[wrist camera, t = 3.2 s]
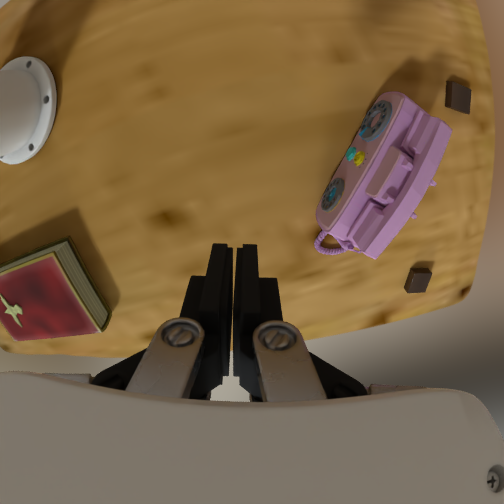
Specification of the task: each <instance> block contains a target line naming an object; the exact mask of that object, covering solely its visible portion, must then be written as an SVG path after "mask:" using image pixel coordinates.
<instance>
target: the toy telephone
mask: <svg viewBox="0 0 504 504" xmlns="http://www.w3.org/2000/svg"><path fill="white" fill-rule="evenodd" d="M451 133H452V129H451V128H450V127H449V126H448V125H447V124H446V123H445V122H444V121H442V120H441V119H439V118H436V117H431V116H430V115H429V114H428V113H427V112H425V111H424V110H423V109H422V108H421V107H419V106H418V105H417V104H416V103H415V102H413V101H412V100H411V99H410V98H408V97H407V96H406V95H405V94H403V93H401V92H396V91H393V92H386V93H383V94H382V95H380V96H379V97H378V99H377V100H376V102H375V103H374V105H373V106H372V108H371V109H370V110H369V111H368V113H367V114H366V116H365V118H364V120H363V122H362V125H361V128H360V130H359V131H358V133H357V135H356V137H355V139H354V141H353V142H352V144H351V146H350V148H349V149H348V151H347V153H346V155H345V157H344V158H343V160H342V162H341V164H340V165H339V167H338V169H337V171H336V173H335V174H334V176H333V178H332V180H331V182H330V184H329V185H328V187H327V189H326V191H325V192H324V195H323V196H322V198H321V200H320V202H319V204H318V207H317V209H316V218H317V221H318V224H319V226H320V227H321V229H322V232H320V234H319V235H318V237H317V238H316V241H315V245H314V246H315V248H316V250H317V251H318V252H320V253H323V254H327V255H328V254H329V255H331V254H332V255H334V254H340V253H343V252H346V251H347V250H348V249H349V250H351V251H354V252H358V253H361V252H363V253H364V254H365V255H367V256H369V257H371V258H374V259H377V257H378V256H379V255H380V254H381V253H382V252H383V250H384V249H385V248H386V247H387V246H388V244H389V243H390V242H391V241H392V239H393V238H394V237H395V236H396V235H397V233H398V232H399V231H400V230H401V228H402V227H403V226H404V224H405V223H406V221H407V220H408V219H409V217H412V218H414V219H416V217H417V216H416V214H415V213H414V212H413V211H414V210H415V208H416V207H417V205H418V204H419V202H420V201H421V199H422V198H423V196H424V194H425V192H426V190H427V188H428V186H429V185H432V186H435V185H436V184H437V183H436V182H434V181H433V180H432V178H433V176H434V174H435V173H436V170H437V168H438V166H439V164H440V161H441V159H442V156H443V154H444V151H445V149H446V146H447V143H448V141H449V138H450V135H451ZM327 234H330V235H332V236H333V237H335V239H336V240H337V241H338V242H339V244H340V245H341V246H342V247H341V248H339V250H338V248H336V250H335V248H334V249H329V248H328V249H327V248H323V247H321V245H320V243H321V242H320V241H322V240H323V239H322V238H324V237H325V236H326V235H327ZM321 237H322V238H321ZM319 240H320V241H319ZM354 246H355V247H357V248H359V249H360V251H356V250H353V248H354Z"/></svg>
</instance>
